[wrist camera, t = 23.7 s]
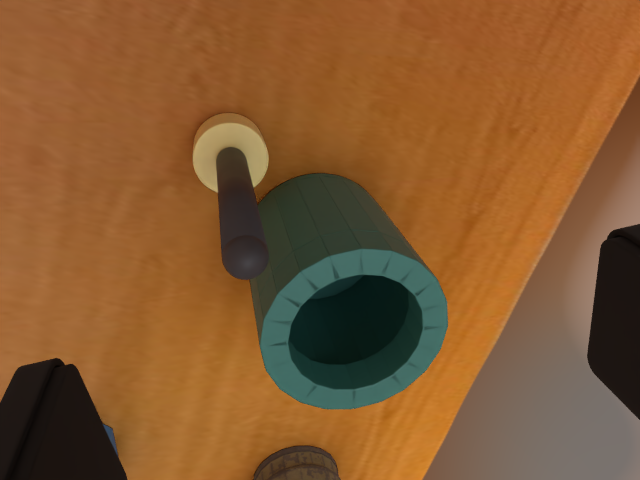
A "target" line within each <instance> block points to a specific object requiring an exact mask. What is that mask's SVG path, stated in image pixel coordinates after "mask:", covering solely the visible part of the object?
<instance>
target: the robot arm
mask: <svg viewBox="0 0 640 480" xmlns="http://www.w3.org/2000/svg"><path fill="white" fill-rule="evenodd" d="M587 358H588V363H589V365H590V368H591V369H592V371H593V373H594V374H595V375H596V376H597V377H598V378H599V379H600V380H601V381H602V382H603V383H604V384H605V385H606V386H607V387H608V388H609V389H610V390H611V391H612V392H613V393H614V394H615V395H616V396H617V397H618V398H619V399H620V400H621V401H622V402H623V403H624V404H625V405H626V407H628V409H629V410H631V412H632V413H633V414H635V416H636V417H638V419H639V420H640V224H638V225H634V226H630V227H625V228H620V229H616V230H613V231H612V232H611V233H610V234H609V235H608V237H607V240H605V241H604V242H603V243H602V245H601V248H600V257H599V264H598V272H597V280H596V289H595V297H594V305H593V313H592V322H591V330H590V337H589V345H588V354H587ZM0 480H127V476H126V473H125V471H124V469H123V467H122V465H121V462H120V460H119V458H118V456H117V454H116V452H115V449H114V447H113V445H112V443H111V441H110V439H109V436H108V434H107V432H106V430H105V428H104V425H103V423H102V421H101V419H100V417H99V415H98V412H97V410H96V408H95V406H94V404H93V402H92V399H91V397H90V395H89V393H88V391H87V389H86V386H85V384H84V382H83V380H82V378H81V376H80V373H79V371H78V369H77V368H76V366H75V365H73V364H69V365H65V364H64V363H63V362H62V361H61V360H60V359H58V358H55V359H50V360H46V361H42V362H37V363H33V364H29V365H24V366H21V367H19V368H18V369H17V370H16V372H15V374H14V376H13V378H12V380H11V382H10V384H9V386H8V388H7V390H6V392H5V394H4V396H3V398H2V400H1V402H0Z"/></svg>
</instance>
